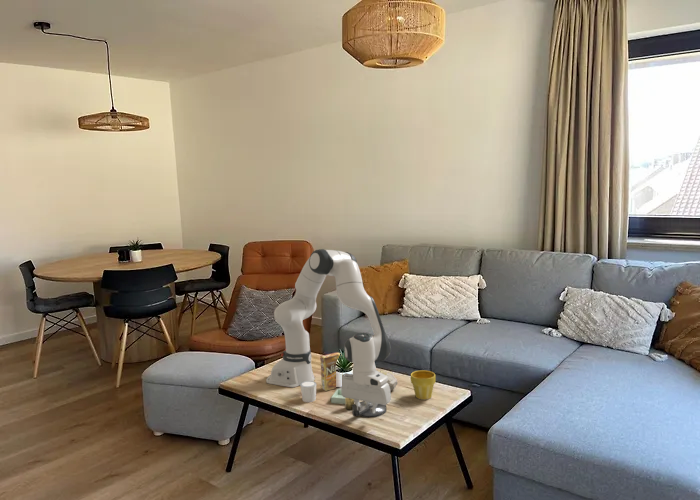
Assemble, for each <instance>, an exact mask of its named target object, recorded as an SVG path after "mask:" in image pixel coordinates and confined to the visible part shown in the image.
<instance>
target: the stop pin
mask: <svg viewBox="0 0 700 500" xmlns="http://www.w3.org/2000/svg"><path fill="white" fill-rule="evenodd" d="M353 404H355V402H354V399H351V398H345V404H344V405H345V410H347V411H353V408H352V405H353Z"/></svg>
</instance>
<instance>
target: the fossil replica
mask: <svg viewBox="0 0 700 500" xmlns="http://www.w3.org/2000/svg"><path fill="white" fill-rule="evenodd" d="M379 372H380V373H382V374H384V375H386V376H388V381H387V383H388V384H389V387H390V392H391V391H393V390H394V389H395V388H396V387H397V385H398V378H396V377H395V375H394V374H393V373H391V372H389V371H387V370H382V369H381V370H380V371H379Z"/></svg>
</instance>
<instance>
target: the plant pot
mask: <svg viewBox="0 0 700 500" xmlns="http://www.w3.org/2000/svg"><path fill="white" fill-rule="evenodd" d="M436 378H437V377H436V374H435V372H433V371H430V370H423V369H422V370H414V371H412V373H410V383H411V384H412V388H413V391H414V395H415V398H416V399H419V400H423V401H424V400H429V399H431V398H432V395H433V391H434V390H433V389H434V385H435V384H436Z"/></svg>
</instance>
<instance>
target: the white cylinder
mask: <svg viewBox="0 0 700 500" xmlns="http://www.w3.org/2000/svg"><path fill="white" fill-rule="evenodd" d="M299 386H300V393H301V399H302V402H304V403H313V402H314V401H316V399H317V382H316V381H305V382H302V383H301V384H300V385H299Z"/></svg>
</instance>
